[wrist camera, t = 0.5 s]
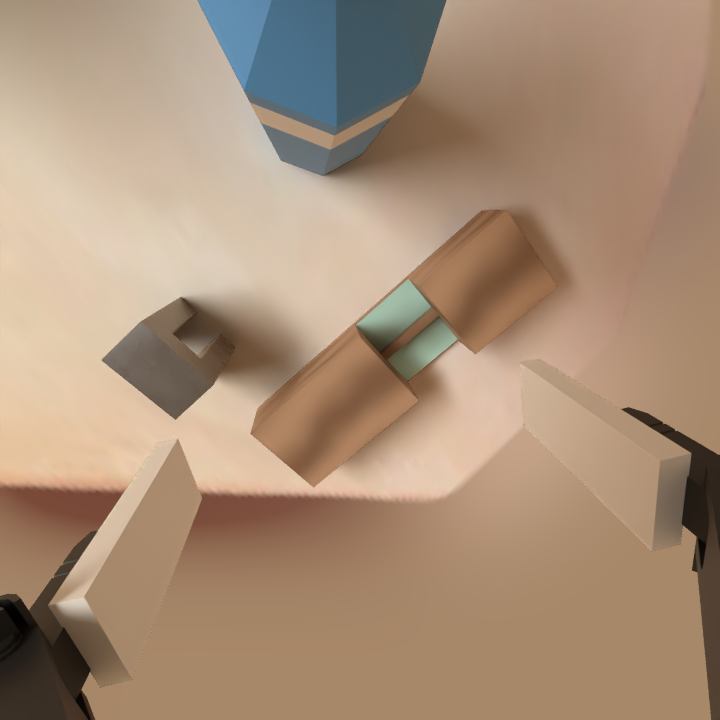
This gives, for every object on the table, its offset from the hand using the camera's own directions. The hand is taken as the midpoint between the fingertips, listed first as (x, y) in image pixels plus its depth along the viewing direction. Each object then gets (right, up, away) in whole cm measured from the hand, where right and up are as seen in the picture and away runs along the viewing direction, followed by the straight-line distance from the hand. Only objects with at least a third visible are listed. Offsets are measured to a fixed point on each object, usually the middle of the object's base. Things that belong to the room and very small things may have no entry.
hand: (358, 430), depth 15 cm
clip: (-15, +5, +22) cm, 27 cm away
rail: (+3, +4, +24) cm, 25 cm away
